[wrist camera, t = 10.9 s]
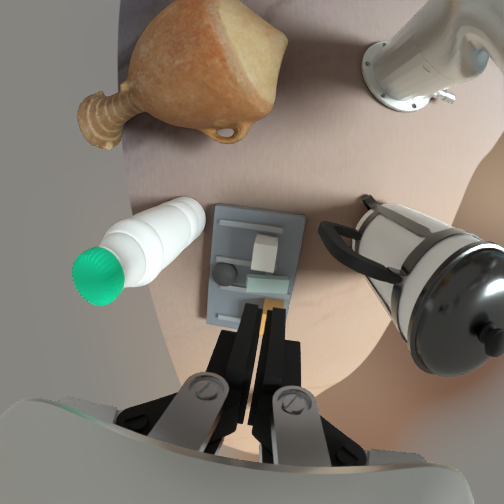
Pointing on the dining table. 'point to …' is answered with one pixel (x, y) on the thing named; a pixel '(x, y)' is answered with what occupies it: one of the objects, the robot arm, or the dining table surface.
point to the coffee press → (429, 284)
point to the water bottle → (137, 249)
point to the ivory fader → (264, 253)
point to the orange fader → (269, 306)
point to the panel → (248, 259)
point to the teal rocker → (267, 284)
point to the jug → (194, 73)
